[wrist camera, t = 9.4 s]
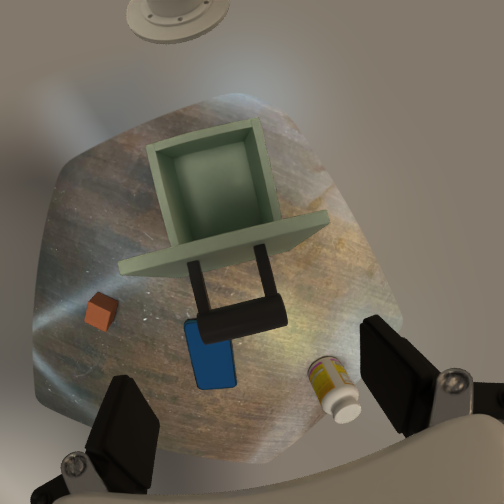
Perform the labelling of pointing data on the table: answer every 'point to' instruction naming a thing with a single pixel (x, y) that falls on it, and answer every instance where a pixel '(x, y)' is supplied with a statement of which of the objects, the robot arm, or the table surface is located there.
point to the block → (101, 311)
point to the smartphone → (210, 360)
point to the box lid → (226, 254)
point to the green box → (214, 181)
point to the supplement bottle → (334, 389)
